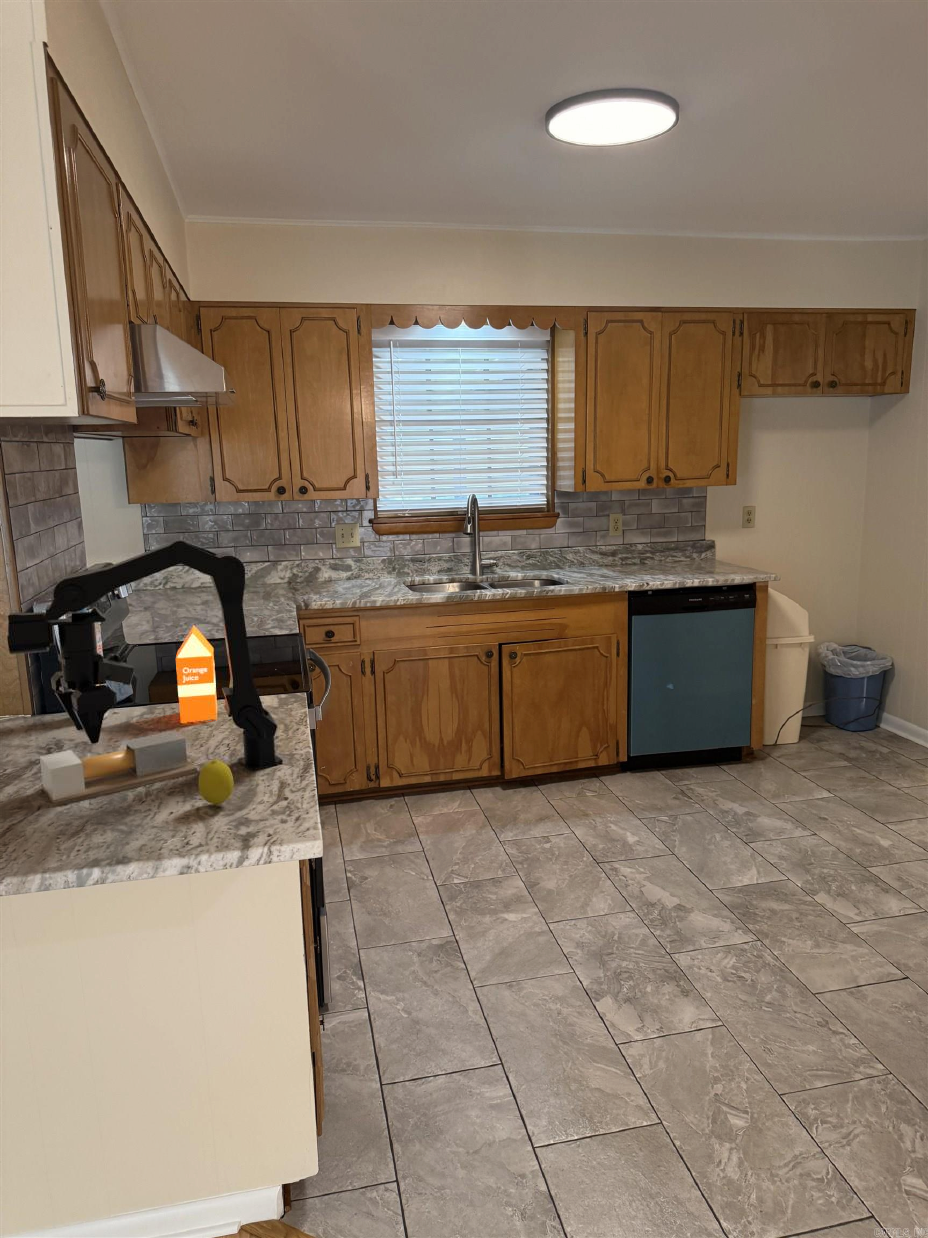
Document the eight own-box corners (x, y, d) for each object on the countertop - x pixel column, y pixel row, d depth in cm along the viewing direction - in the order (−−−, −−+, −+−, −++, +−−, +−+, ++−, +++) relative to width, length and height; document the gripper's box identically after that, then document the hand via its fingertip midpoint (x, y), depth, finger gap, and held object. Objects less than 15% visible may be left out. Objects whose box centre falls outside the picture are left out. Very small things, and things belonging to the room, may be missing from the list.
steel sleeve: (187, 765, 153) (185, 737, 152) (137, 777, 148) (134, 748, 147) (176, 757, 158) (174, 730, 157) (127, 768, 152) (125, 740, 151)
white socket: (85, 792, 142) (82, 762, 141) (53, 800, 139) (50, 769, 138) (73, 778, 148) (70, 750, 147) (42, 785, 145) (39, 756, 144)
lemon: (222, 796, 141) (218, 751, 140) (241, 804, 138) (238, 758, 136) (193, 807, 137) (189, 761, 136) (213, 815, 134) (209, 768, 132)
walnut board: (197, 772, 153) (197, 768, 152) (55, 806, 138) (55, 802, 138) (178, 757, 160) (177, 753, 160) (42, 788, 146) (41, 784, 146)
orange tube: (143, 769, 149) (141, 750, 149) (65, 787, 142) (63, 767, 141) (136, 763, 152) (135, 745, 152) (60, 781, 144) (58, 761, 144)
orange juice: (180, 723, 181) (172, 633, 177) (182, 712, 189) (175, 626, 185) (217, 720, 183) (211, 631, 179) (218, 709, 191) (212, 623, 187)
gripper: (144, 651, 139) (152, 740, 142) (112, 633, 154) (119, 714, 157) (73, 661, 132) (82, 754, 135) (46, 642, 147) (55, 726, 150)
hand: (87, 736), depth 144 cm, fingers open, 9 cm apart
